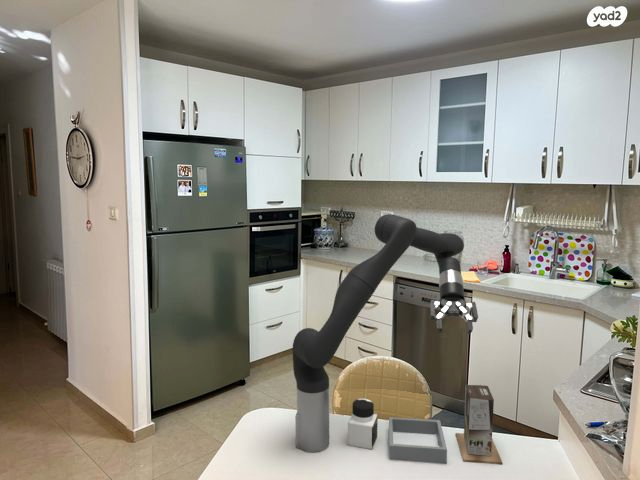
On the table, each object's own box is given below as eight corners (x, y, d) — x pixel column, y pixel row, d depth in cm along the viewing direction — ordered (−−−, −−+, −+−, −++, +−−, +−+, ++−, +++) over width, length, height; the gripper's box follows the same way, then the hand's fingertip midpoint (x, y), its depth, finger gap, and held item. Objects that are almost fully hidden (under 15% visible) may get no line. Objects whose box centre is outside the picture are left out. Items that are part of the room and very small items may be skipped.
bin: (389, 459, 122) (389, 445, 122) (388, 429, 137) (388, 417, 136) (446, 463, 120) (447, 449, 120) (439, 432, 135) (440, 420, 134)
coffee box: (492, 456, 122) (494, 400, 120) (467, 454, 123) (469, 398, 121) (486, 438, 131) (488, 385, 129) (463, 436, 132) (465, 383, 130)
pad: (463, 461, 121) (463, 459, 121) (455, 434, 134) (455, 432, 134) (502, 464, 120) (502, 462, 119) (490, 437, 132) (490, 435, 132)
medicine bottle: (372, 450, 126) (372, 409, 125) (347, 445, 129) (347, 405, 127) (377, 436, 133) (377, 397, 132) (354, 432, 135) (354, 394, 134)
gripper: (430, 280, 146) (432, 325, 136) (475, 281, 144) (481, 327, 134) (427, 292, 152) (429, 336, 142) (472, 294, 150) (477, 339, 140)
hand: (454, 332), depth 138 cm, fingers open, 8 cm apart
